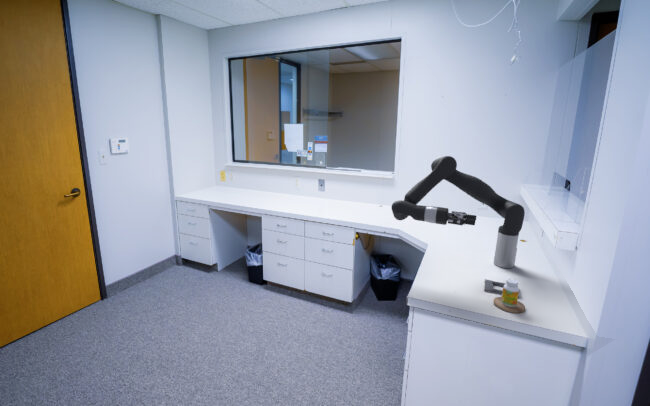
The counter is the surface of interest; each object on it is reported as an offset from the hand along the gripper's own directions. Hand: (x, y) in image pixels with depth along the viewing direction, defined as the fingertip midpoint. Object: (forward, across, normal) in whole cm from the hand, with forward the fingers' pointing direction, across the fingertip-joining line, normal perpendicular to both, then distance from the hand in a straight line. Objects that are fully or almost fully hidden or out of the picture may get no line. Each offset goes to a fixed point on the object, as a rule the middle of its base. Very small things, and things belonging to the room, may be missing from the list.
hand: (475, 220), depth 138 cm
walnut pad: (+16, -11, +30) cm, 36 cm away
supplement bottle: (+16, -11, +29) cm, 35 cm away
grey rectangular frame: (+13, +3, +30) cm, 33 cm away
